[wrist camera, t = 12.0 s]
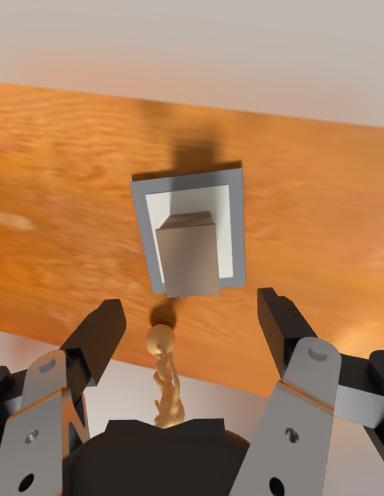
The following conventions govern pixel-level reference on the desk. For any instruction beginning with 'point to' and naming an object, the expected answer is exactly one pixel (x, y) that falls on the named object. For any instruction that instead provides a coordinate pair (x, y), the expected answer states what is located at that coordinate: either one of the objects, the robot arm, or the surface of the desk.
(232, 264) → the mat
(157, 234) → the walnut box
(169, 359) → the figurine
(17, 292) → the desk surface
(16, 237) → the desk surface
